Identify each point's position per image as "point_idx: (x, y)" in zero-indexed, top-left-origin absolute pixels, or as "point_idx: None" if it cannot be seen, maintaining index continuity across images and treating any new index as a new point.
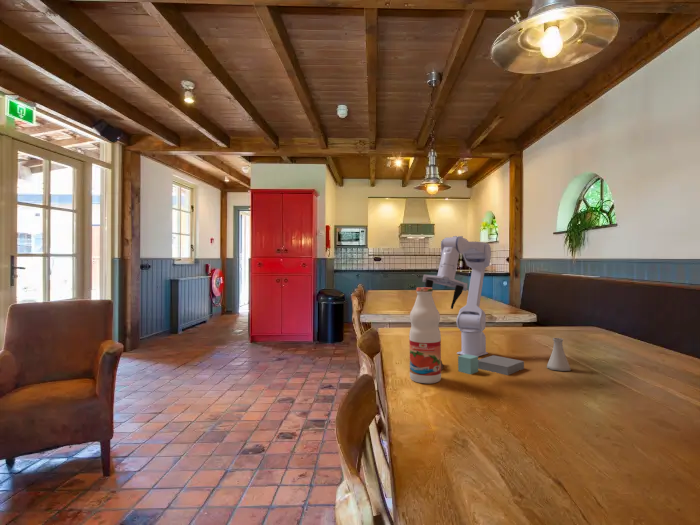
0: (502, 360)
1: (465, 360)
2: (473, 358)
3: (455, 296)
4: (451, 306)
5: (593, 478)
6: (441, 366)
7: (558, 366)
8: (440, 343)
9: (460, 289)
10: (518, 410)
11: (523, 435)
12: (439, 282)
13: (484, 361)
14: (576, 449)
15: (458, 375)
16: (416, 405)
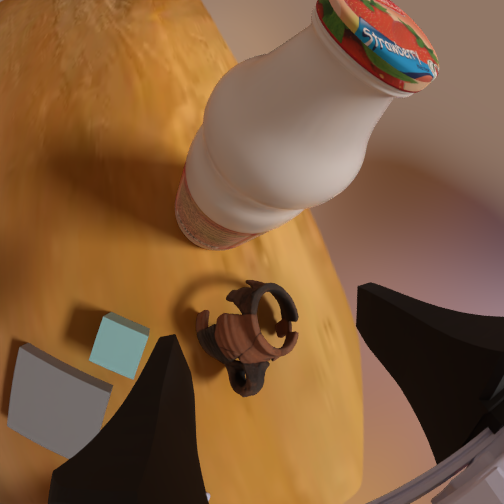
0: (48, 418)
1: (122, 323)
2: (97, 334)
3: (143, 399)
4: (173, 335)
5: (22, 8)
6: (199, 321)
7: None
8: (184, 174)
9: (78, 465)
10: (25, 106)
11: (46, 39)
12: (430, 485)
13: (85, 390)
14: (6, 40)
15: (139, 285)
16: (192, 62)
